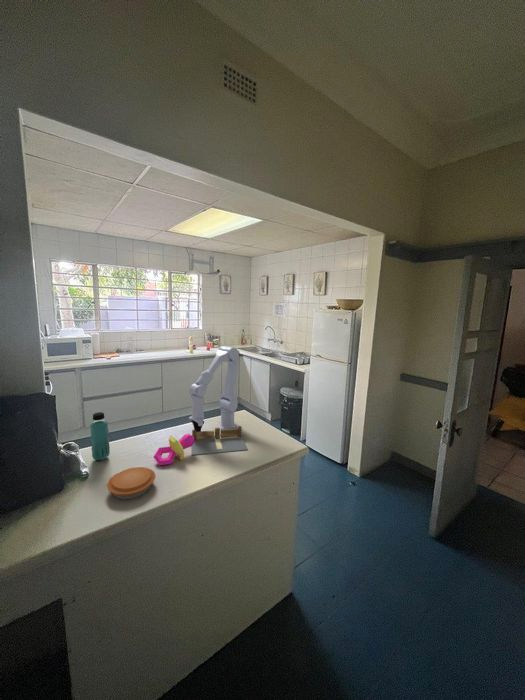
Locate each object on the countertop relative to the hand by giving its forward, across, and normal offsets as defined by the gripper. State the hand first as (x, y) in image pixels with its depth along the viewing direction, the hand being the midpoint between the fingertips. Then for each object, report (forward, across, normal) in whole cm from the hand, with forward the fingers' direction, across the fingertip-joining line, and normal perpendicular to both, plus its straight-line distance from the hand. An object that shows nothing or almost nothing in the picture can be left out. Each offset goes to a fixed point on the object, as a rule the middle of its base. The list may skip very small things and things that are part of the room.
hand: (197, 434), depth 138 cm
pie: (+2, +31, -29) cm, 43 cm away
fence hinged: (+1, +4, +2) cm, 4 cm away
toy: (+2, +15, -12) cm, 20 cm away
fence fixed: (+2, +6, +14) cm, 15 cm away
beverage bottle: (+2, +5, -41) cm, 42 cm away
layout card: (+2, +10, +8) cm, 13 cm away
